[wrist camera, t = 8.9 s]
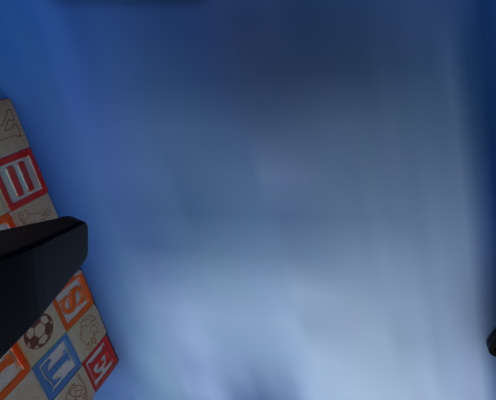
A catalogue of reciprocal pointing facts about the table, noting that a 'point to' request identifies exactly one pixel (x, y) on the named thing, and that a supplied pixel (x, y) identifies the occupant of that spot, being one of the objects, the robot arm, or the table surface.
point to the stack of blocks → (65, 304)
